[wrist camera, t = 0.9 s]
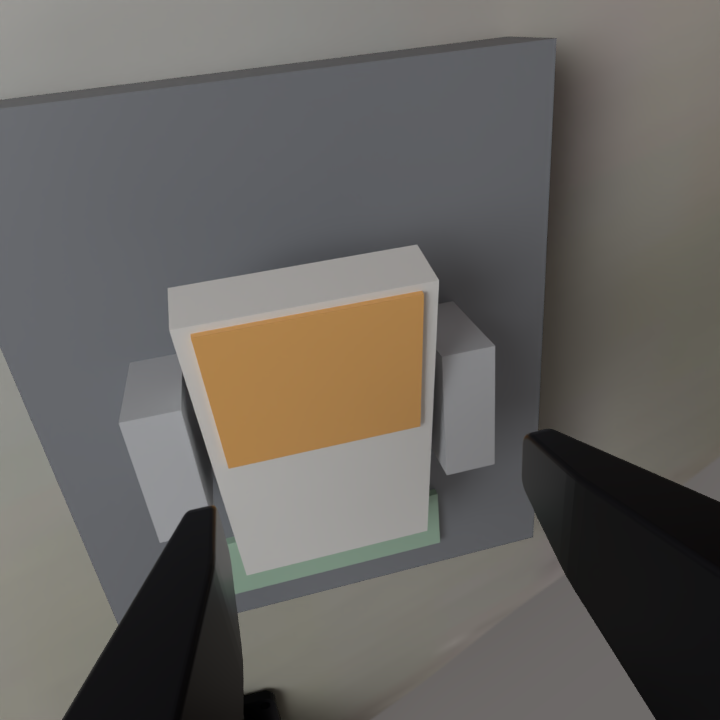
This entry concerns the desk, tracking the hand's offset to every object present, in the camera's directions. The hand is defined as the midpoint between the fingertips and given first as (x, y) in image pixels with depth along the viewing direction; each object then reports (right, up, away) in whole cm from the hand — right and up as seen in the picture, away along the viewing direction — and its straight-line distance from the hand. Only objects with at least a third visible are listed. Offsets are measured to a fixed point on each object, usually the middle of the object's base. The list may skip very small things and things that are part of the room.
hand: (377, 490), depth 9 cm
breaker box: (-3, +2, +13) cm, 14 cm away
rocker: (-1, 0, +8) cm, 8 cm away
